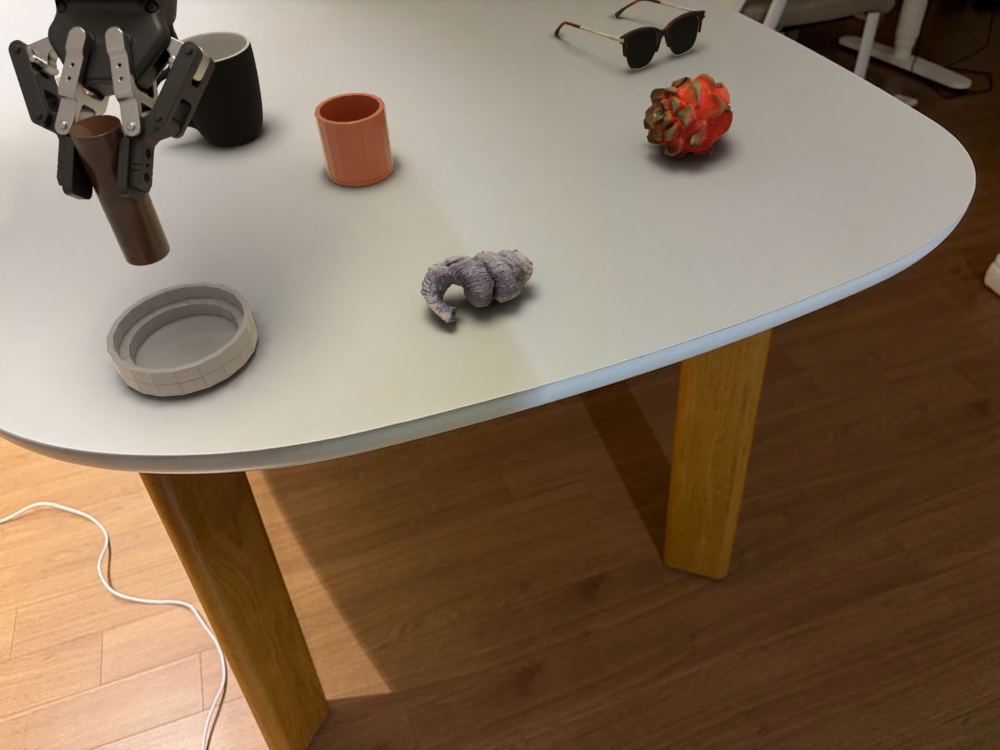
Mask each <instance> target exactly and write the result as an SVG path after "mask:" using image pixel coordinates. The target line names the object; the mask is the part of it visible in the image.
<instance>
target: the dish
mask: <svg viewBox="0 0 1000 750" xmlns="http://www.w3.org/2000/svg"><path fill="white" fill-rule="evenodd" d="M258 338H259V334H258V329H257V326H256V322H255V320H254V317H253V314H252V310H251V308H250V304H249V302H248V300H247V299H246V298H245V297H244V296H243V295H242V294H241V293H240V292H239V291H238V290H236V289H233V288H232V287H229V286H227V285H224V284H220V283H212V282H206V281H205V282H203V281H202V282H189V283H182V284H178V285H174V286H169V287H166V288H162V289H160V290H157V291H155V292H153V293H150V294H148V295H146V296H144V297H142V298H140V299H139V300H138V301H136V302H135V303H133V304H132V305H130V306H129V307H127V308H126V309H125V310H124V311H123V312H122V313H121V314H120V315H119V316H118V317H117V319H115V320H114V322H113V323H112V325H111V327H110V328H109V331H108V333H107V336H106V351H107V354H108V355H109V357H110V360H111V361H112V363H113V366H114V367H115V369H116V370H117V372H118V375H119V376H120V378H121V379H122V381H123V382H124V384H125V385H126V386H128V387H130V388H132V389H133V390H135V391H137V392H138V393H141V394H143V395H149V396H155V397H173V396H184V395H189V394H192V393H196V392H199V391H203V390H206V389H209V388H212V387H213V386H215V385H217V384H219V383H221V382H223V381H225V380H227V379H228V378H230V377H231V376H233V375H234V374H235V373H236V372H237V371H238V370H240V369H242V368H243V367H244V365H246V363H247V362H248V361H249V359H250V357H252V355H253V353H254V352H255V351H256V350H255V349H256V347H257V342H258Z"/></svg>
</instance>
